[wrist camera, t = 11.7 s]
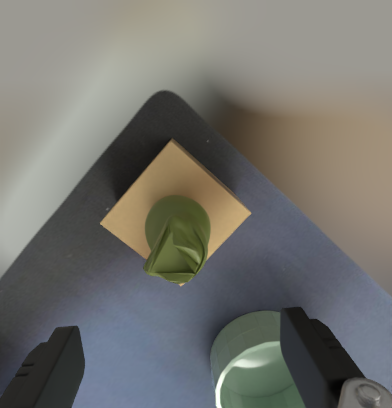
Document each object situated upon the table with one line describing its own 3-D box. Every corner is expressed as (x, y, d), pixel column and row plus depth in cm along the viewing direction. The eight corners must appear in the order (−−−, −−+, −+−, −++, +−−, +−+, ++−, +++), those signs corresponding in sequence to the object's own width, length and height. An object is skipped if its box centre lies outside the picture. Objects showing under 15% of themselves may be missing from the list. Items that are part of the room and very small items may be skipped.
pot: (195, 332, 41) (198, 366, 35) (295, 295, 40) (315, 324, 34) (229, 410, 44) (237, 453, 38) (321, 377, 44) (344, 415, 38)
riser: (116, 202, 36) (99, 223, 28) (172, 137, 34) (170, 140, 26) (180, 253, 38) (181, 286, 30) (235, 194, 36) (251, 213, 29)
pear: (188, 254, 29) (194, 317, 20) (137, 231, 28) (117, 286, 19) (215, 203, 28) (236, 244, 18) (163, 178, 27) (156, 207, 18)
